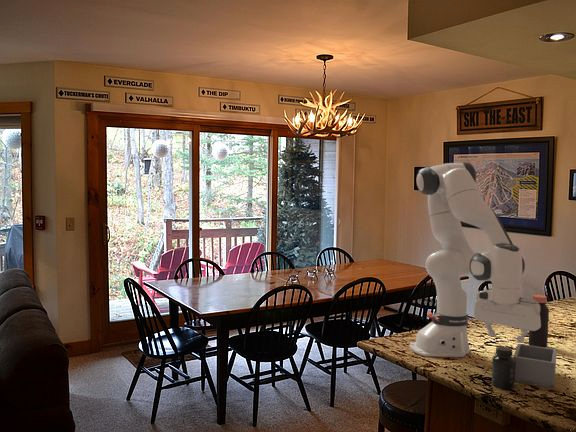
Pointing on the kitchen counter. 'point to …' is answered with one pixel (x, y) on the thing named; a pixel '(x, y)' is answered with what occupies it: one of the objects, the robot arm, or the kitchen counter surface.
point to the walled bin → (535, 365)
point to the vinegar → (541, 334)
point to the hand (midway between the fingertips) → (505, 339)
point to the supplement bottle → (503, 368)
